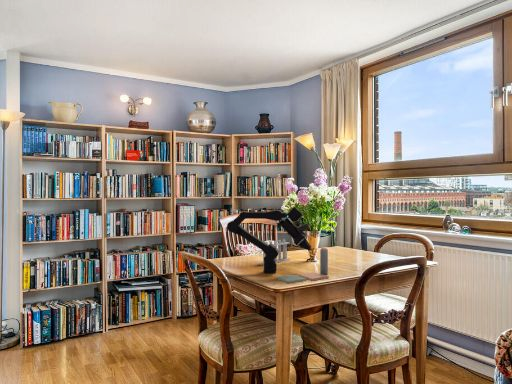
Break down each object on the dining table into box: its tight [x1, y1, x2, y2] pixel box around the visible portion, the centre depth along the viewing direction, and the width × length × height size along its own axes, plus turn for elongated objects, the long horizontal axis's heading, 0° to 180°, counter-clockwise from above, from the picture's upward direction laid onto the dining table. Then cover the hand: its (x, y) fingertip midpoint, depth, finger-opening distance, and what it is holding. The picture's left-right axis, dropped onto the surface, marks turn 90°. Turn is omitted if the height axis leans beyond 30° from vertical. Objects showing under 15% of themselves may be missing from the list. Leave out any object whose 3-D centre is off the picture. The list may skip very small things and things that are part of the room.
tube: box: [319, 246, 329, 276], centre depth 212 cm, size 4×4×14 cm
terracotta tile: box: [297, 271, 330, 282], centre depth 204 cm, size 11×11×1 cm
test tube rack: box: [259, 239, 291, 266], centre depth 246 cm, size 25×4×13 cm, turn 139°
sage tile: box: [275, 274, 307, 284], centre depth 199 cm, size 11×11×1 cm
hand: (310, 248), depth 213 cm, fingers open, 9 cm apart
